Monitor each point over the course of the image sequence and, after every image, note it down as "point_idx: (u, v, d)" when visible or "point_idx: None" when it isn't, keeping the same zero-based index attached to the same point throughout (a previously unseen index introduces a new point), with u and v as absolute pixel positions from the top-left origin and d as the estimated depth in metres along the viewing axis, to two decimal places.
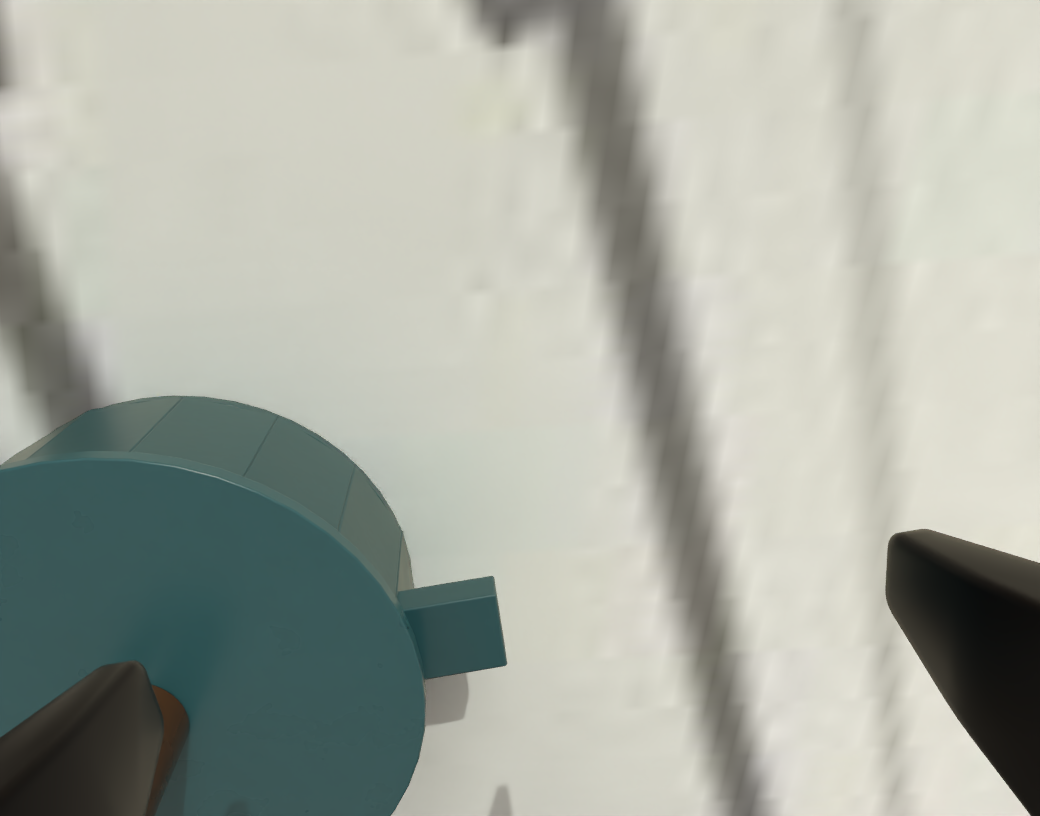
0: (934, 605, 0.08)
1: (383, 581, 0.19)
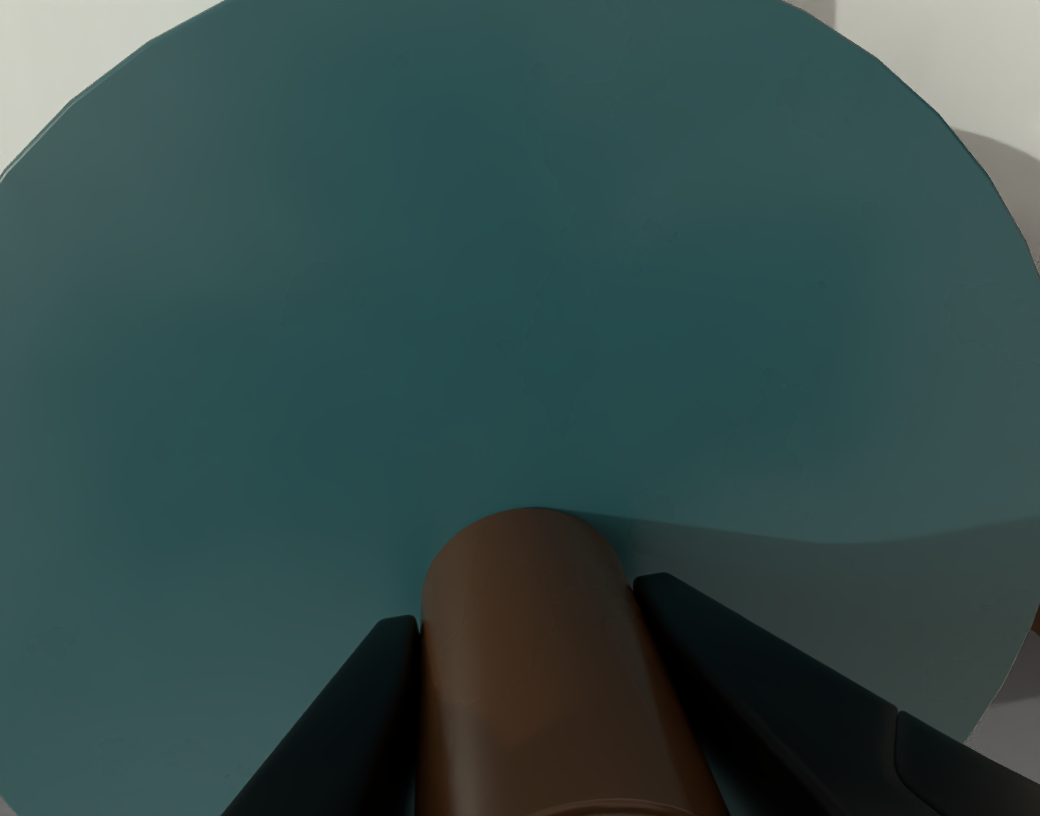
0: None
1: None
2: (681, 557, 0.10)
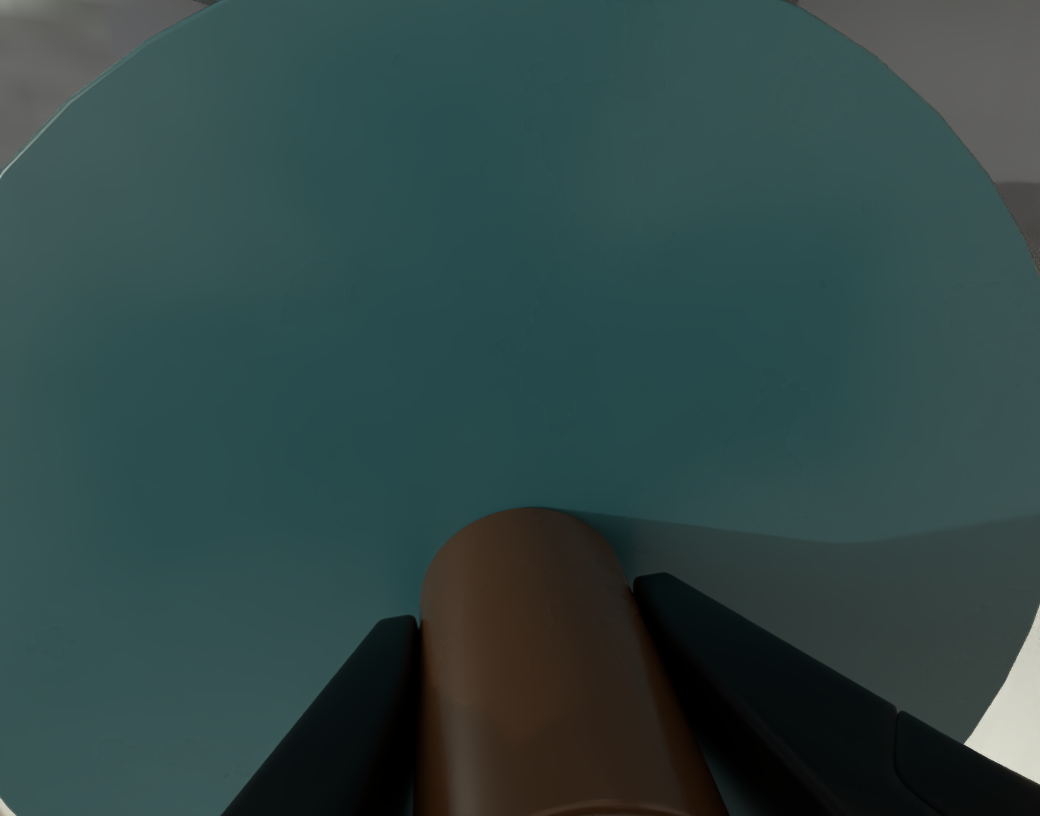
0: None
1: None
2: (680, 557, 0.10)
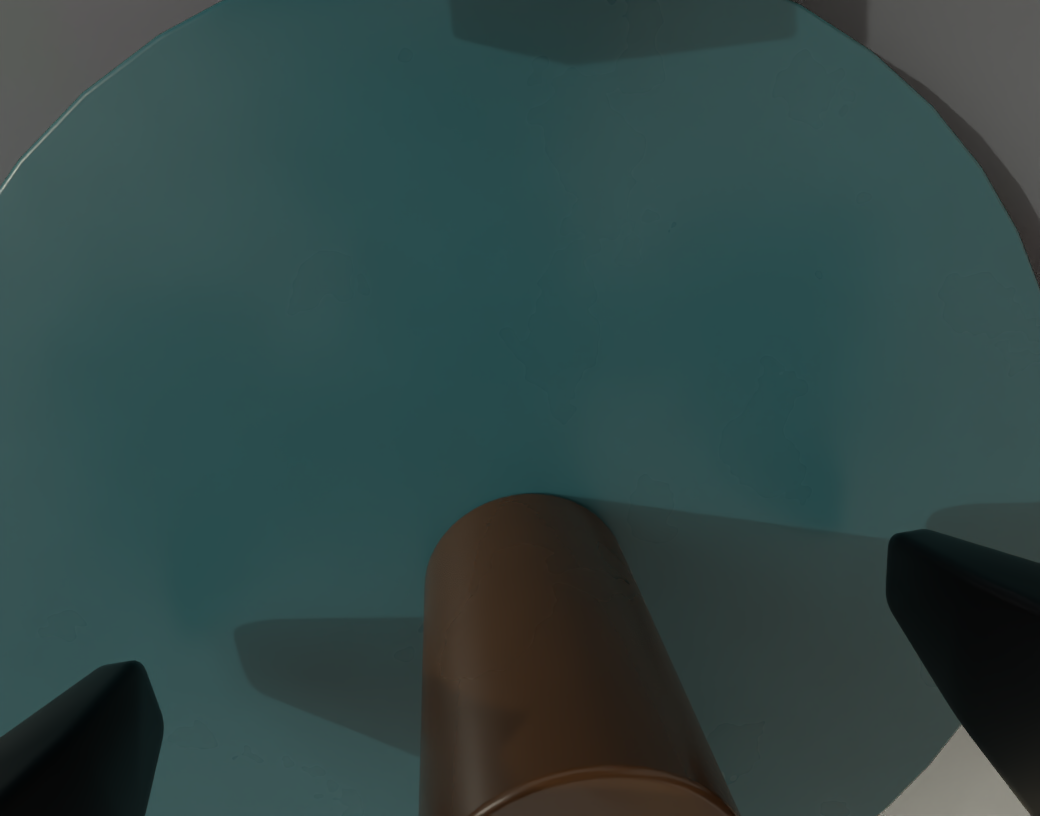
0: (934, 605, 0.08)
1: None
2: (680, 543, 0.10)
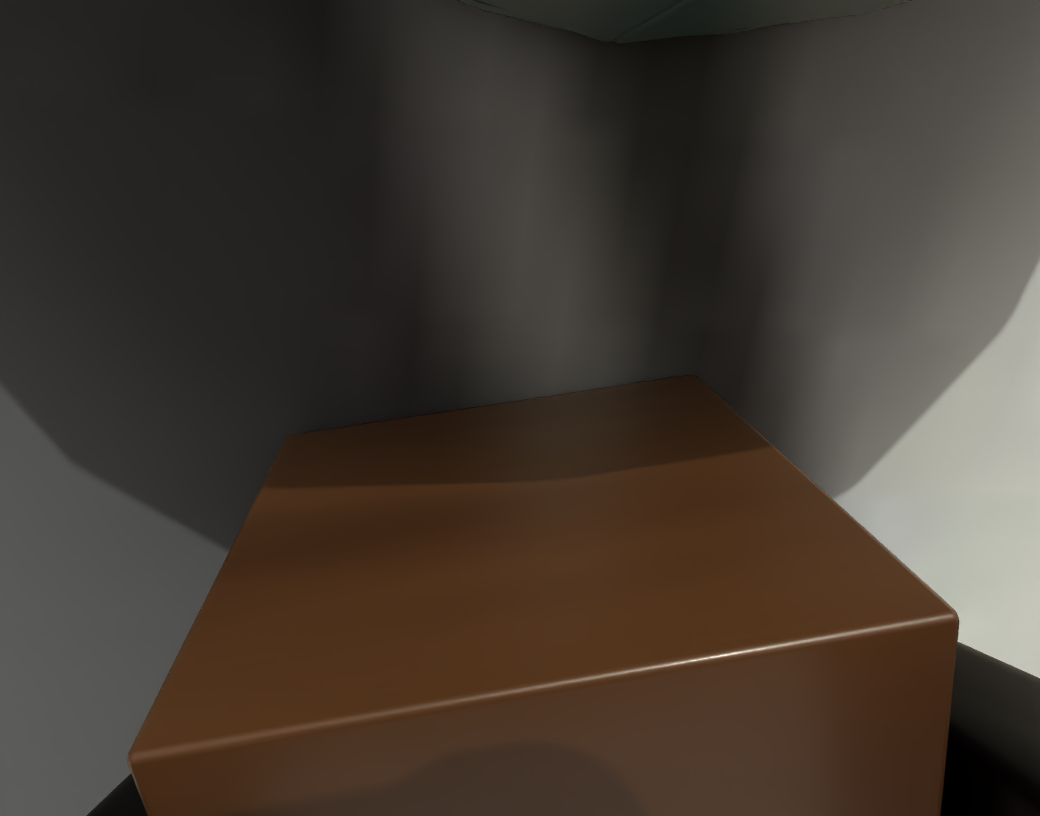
0: None
1: None
2: None
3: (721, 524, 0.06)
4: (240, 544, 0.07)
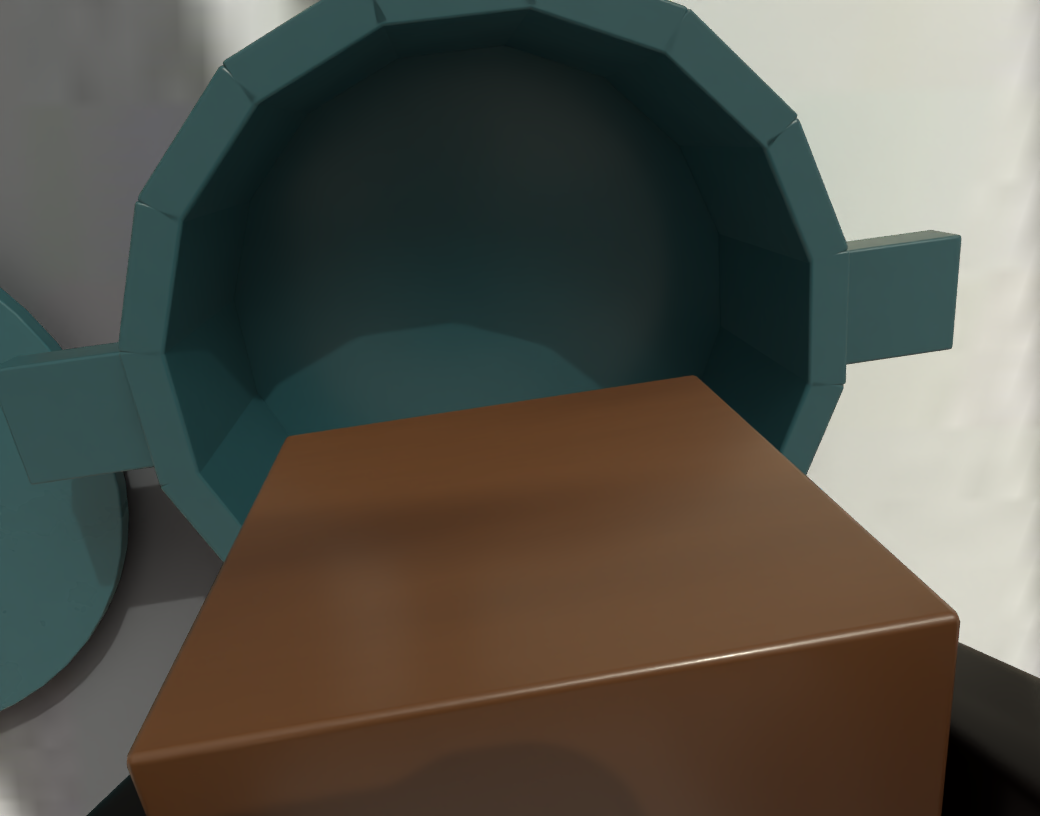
0: None
1: (57, 347, 0.18)
2: None
3: (720, 524, 0.06)
4: (239, 545, 0.06)
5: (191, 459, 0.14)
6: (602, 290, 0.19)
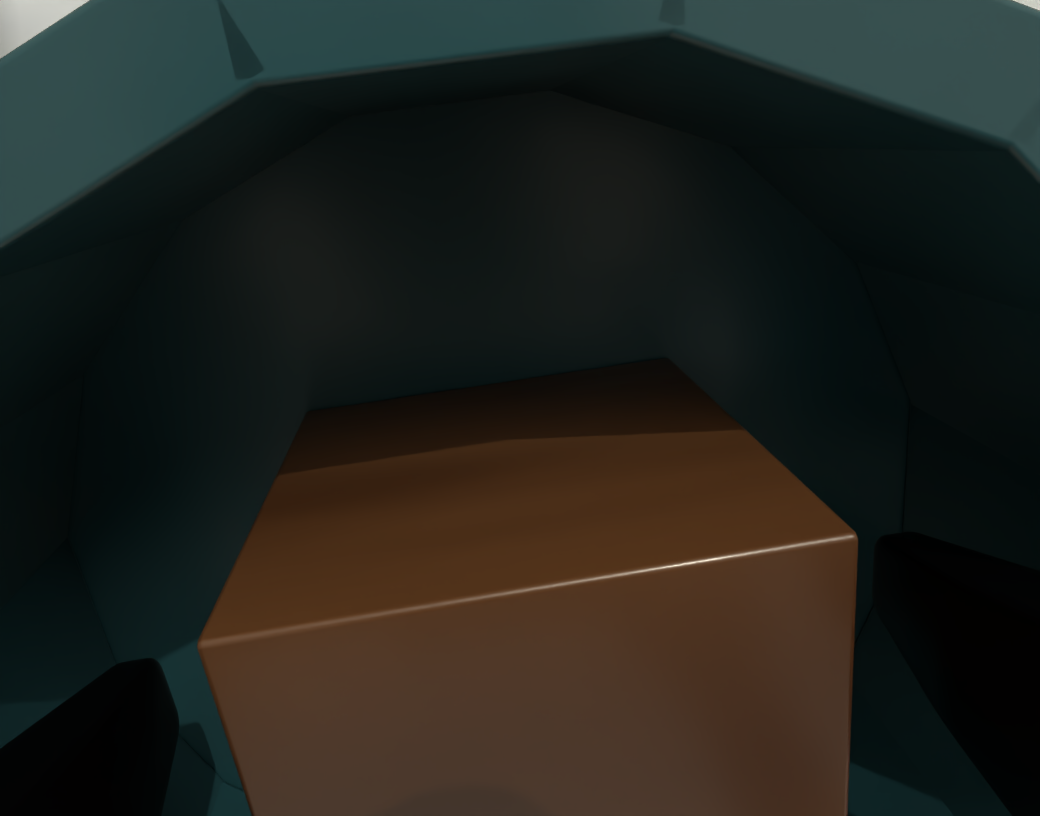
0: (919, 608, 0.08)
1: None
2: None
3: (677, 473, 0.07)
4: (273, 495, 0.08)
5: None
6: None
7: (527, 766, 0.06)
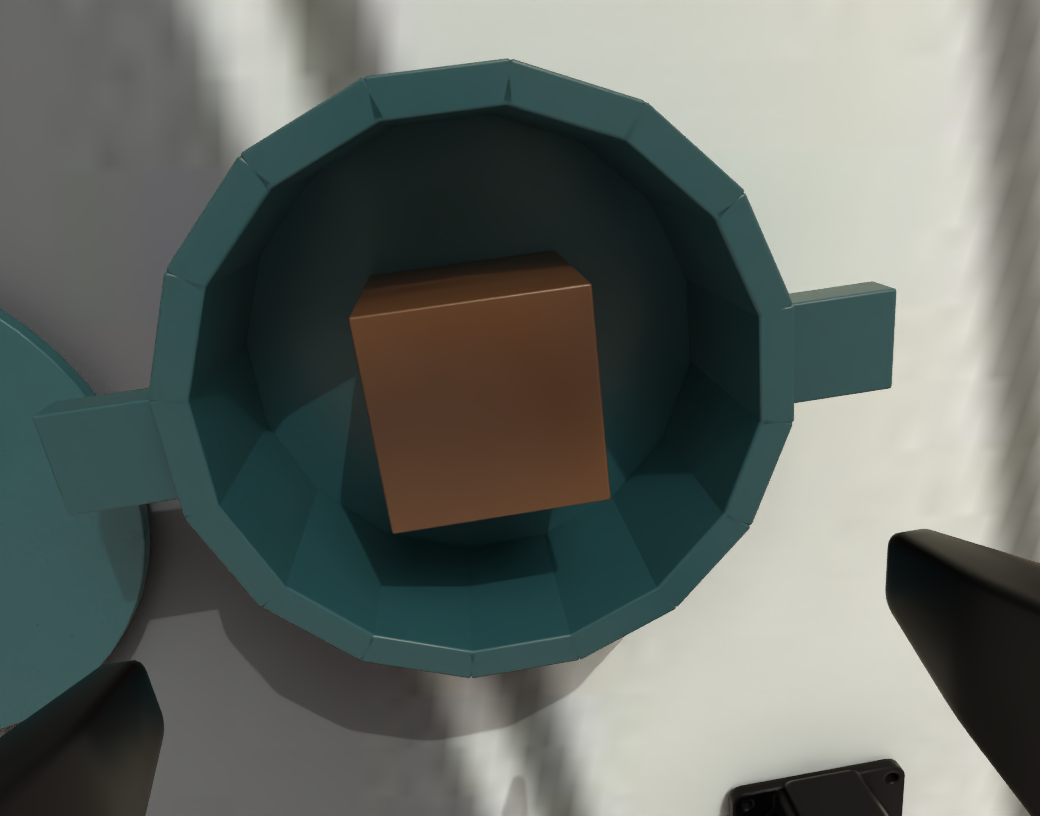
0: (934, 605, 0.08)
1: (86, 386, 0.20)
2: None
3: (535, 277, 0.17)
4: (363, 294, 0.17)
5: (212, 493, 0.16)
6: None
7: (469, 379, 0.16)
